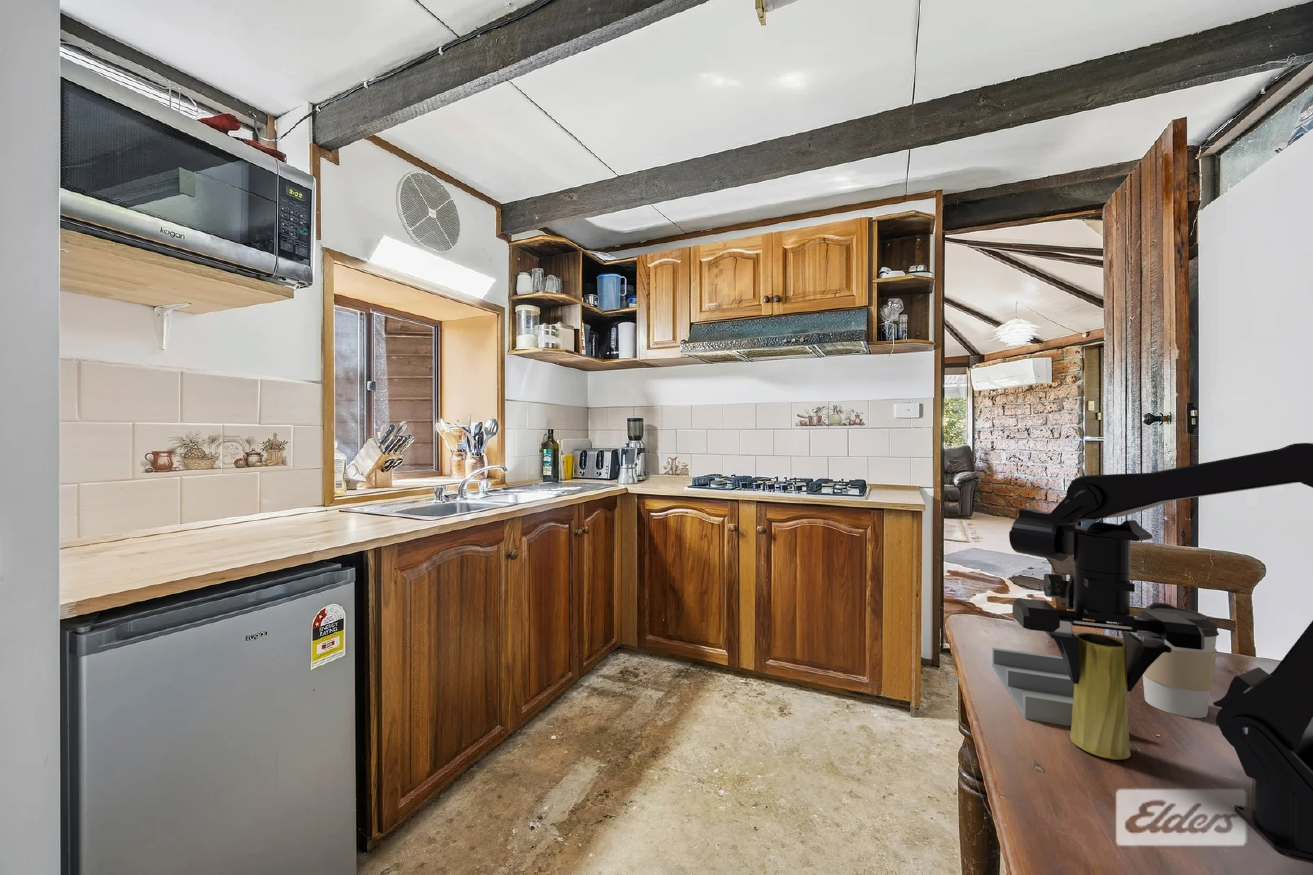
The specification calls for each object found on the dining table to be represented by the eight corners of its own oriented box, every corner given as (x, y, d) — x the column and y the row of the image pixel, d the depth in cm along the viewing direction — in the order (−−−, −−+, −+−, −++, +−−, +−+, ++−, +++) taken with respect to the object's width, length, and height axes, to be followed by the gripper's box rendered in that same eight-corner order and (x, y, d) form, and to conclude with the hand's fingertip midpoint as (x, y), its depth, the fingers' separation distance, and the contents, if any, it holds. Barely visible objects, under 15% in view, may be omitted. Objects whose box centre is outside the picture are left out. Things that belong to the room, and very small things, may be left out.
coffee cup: (1236, 725, 75) (1237, 621, 75) (1162, 718, 77) (1163, 616, 77) (1186, 695, 84) (1187, 602, 84) (1121, 689, 86) (1122, 598, 86)
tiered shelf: (1127, 735, 72) (1128, 712, 72) (1025, 718, 76) (1025, 696, 76) (1072, 677, 90) (1073, 658, 90) (992, 665, 94) (992, 647, 94)
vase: (1060, 739, 70) (1061, 634, 70) (1085, 729, 73) (1086, 628, 73) (1115, 765, 65) (1116, 651, 65) (1140, 753, 67) (1141, 644, 67)
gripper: (1157, 562, 73) (1156, 672, 73) (1002, 550, 80) (1001, 652, 80) (1207, 582, 63) (1206, 711, 63) (1025, 567, 69) (1024, 684, 69)
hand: (1100, 686), depth 69 cm, fingers closed on vase, 5 cm apart
